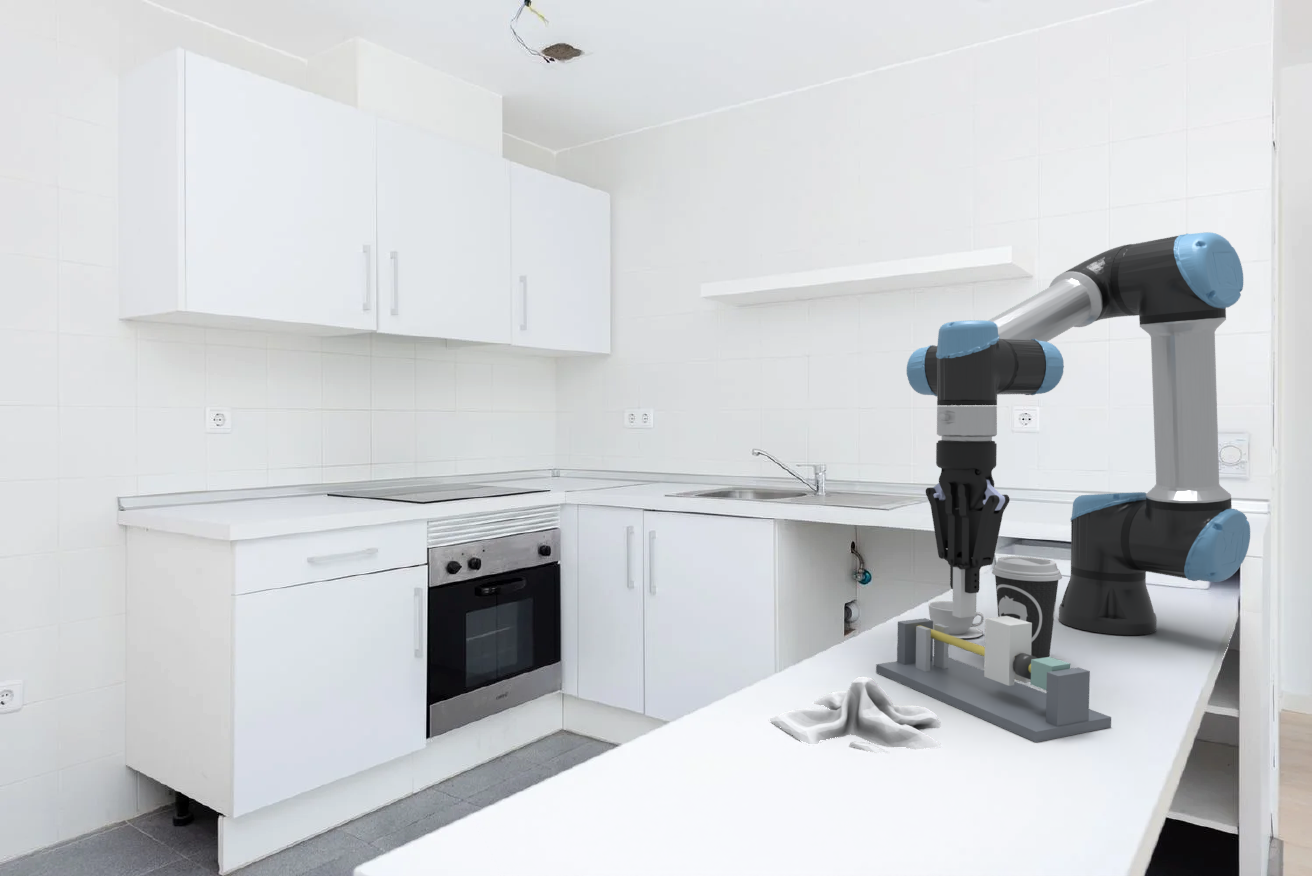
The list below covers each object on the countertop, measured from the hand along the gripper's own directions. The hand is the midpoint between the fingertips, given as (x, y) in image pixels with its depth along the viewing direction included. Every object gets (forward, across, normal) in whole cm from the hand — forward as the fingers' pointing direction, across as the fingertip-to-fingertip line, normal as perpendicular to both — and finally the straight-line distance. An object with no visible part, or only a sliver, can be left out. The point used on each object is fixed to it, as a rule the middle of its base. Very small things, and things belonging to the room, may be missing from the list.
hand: (964, 615), depth 116 cm
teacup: (+11, -24, +20) cm, 33 cm away
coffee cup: (+10, -6, +18) cm, 21 cm away
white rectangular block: (+6, +8, 0) cm, 10 cm away
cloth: (+10, +7, -20) cm, 24 cm away
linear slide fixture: (+10, +4, 0) cm, 11 cm away
